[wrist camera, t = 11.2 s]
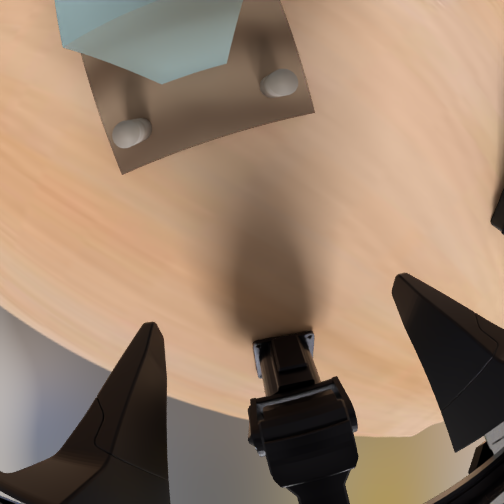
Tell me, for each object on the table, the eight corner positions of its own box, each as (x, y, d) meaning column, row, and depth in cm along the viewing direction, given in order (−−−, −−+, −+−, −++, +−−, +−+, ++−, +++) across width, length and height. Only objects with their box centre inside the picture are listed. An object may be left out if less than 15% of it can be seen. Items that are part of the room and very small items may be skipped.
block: (226, 63, 15) (250, -23, 4) (161, 84, 15) (63, 47, 4) (209, 10, 13) (205, -114, 2) (145, 31, 13) (50, -55, 2)
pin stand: (309, 112, 18) (334, 114, 14) (127, 171, 19) (104, 188, 15) (256, -42, 11) (267, -72, 7) (78, 18, 12) (49, 3, 8)
